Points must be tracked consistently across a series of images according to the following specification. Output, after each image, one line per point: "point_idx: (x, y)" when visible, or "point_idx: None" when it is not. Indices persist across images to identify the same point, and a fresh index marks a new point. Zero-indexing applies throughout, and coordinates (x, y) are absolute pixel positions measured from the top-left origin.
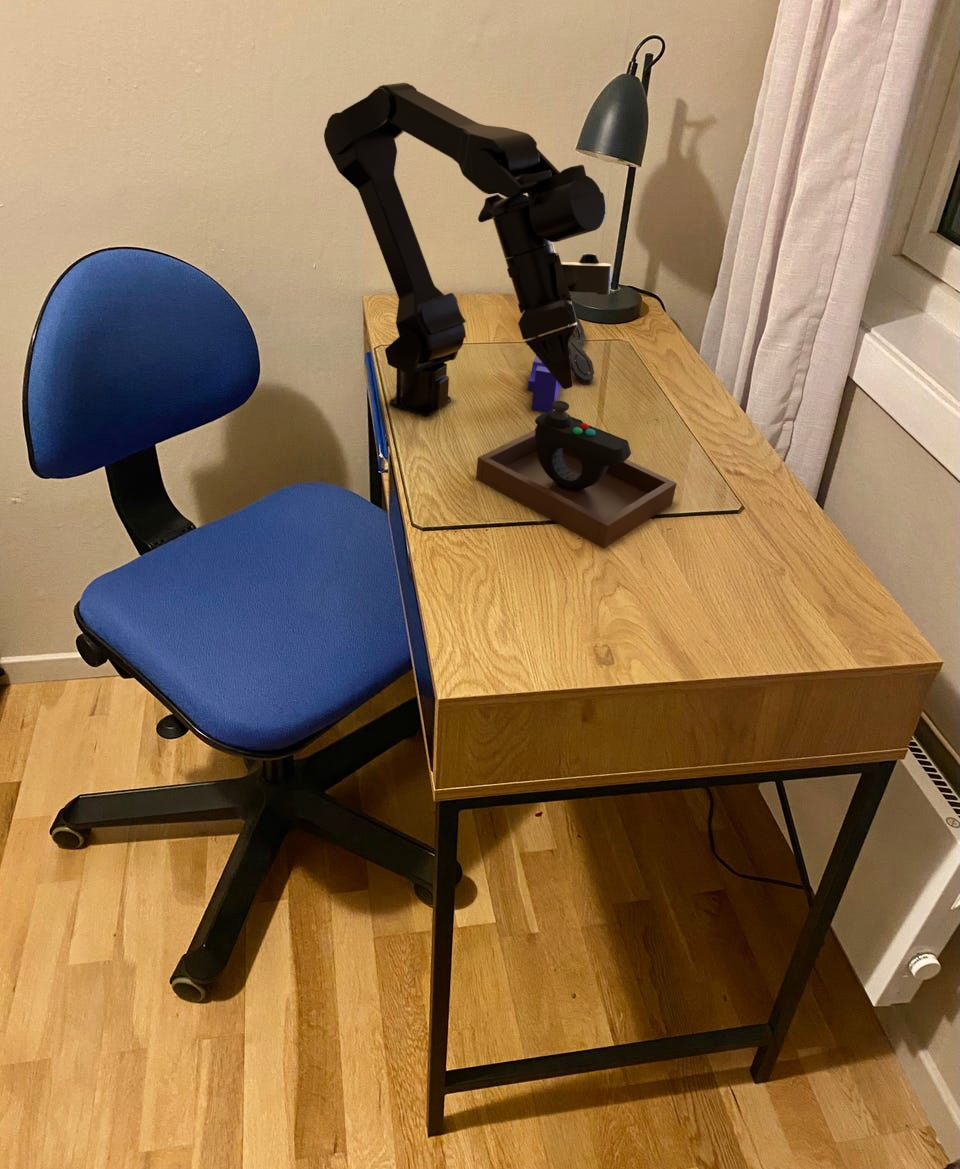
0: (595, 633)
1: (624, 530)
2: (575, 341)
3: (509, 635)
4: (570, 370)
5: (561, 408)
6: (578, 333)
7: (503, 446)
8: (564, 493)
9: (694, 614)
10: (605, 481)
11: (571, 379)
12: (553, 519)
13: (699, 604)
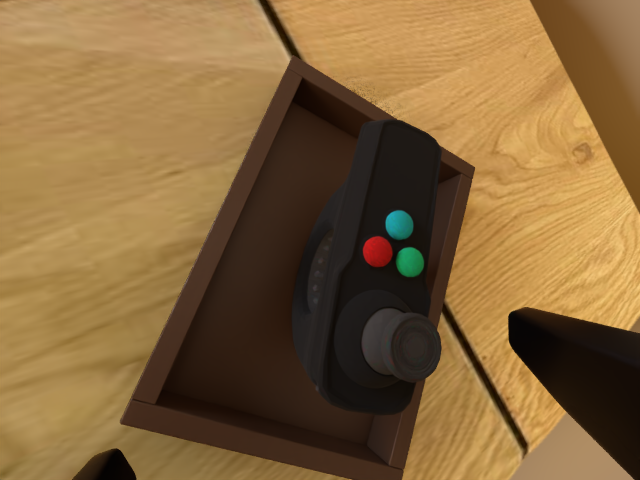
0: (565, 165)
1: None
2: None
3: (605, 247)
4: (636, 335)
5: (436, 333)
6: None
7: (325, 466)
8: None
9: (497, 65)
10: (275, 212)
11: (564, 317)
12: None
13: (481, 58)
